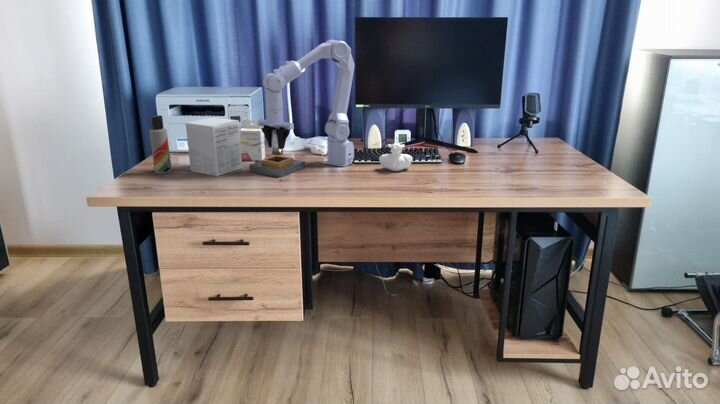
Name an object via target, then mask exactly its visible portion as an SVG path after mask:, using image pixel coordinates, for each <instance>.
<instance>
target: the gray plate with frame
mask: <svg viewBox="0 0 720 404" xmlns="http://www.w3.org/2000/svg"><path fill="white" fill-rule="evenodd" d="M248 165H249V167H248V168H249V172H251V173H254V174H260V175H265V176H271V177H276V178H283V177H286V176H288V175H290V174H293V173H296V172H299V171H301V170H304V169H306V161H305V160H304V161H303V160H299V159H294V158H293V157H288V156H282V155H272V156H270V157H265V158H264V159H263V160H261V161H259V160H256V161H254V163H251V164H248Z"/></svg>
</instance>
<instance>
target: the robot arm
mask: <svg viewBox="0 0 720 404" xmlns="http://www.w3.org/2000/svg"><path fill="white" fill-rule="evenodd" d="M321 59H330V60H331V61H332V62H333V63H334V64H335V65H336V66H337V69H338V73H337V74H338V75H337V80H336V87H335V92H334V97H333V99H334V100H333V103H332V104H333V106H332V110H331V113H330V114H329V116H328V119H327V122H326V123H325V125H324V132H325V133H326V134H327V143H326V144H327V160H326V161H323V162H322V164H324V165H331V166H335V167H336V166H337V167H342V168H345V167H347V166H350V165H351V164H353V163H352V161H353V158H354V159H355V146H354V143H353V142H352V141H349V140H348V137H349V135H350V127H349V123H350V120H349V119H348V114H347V113H348V108H349V102H350V97H351V96H350V95H351V90H352V83H353V78H354V71H355V62H354V58H353V55H352V48H351V47H350V46H349V45H348V44H347V42H346V41H344V40H335V39H328V40H326V41H325V42H323V43H320V44H319V45H318V46H316V47H315V48H313V49H311V51H309V52H308V53H307V54H305V55H304V56H302V57H301V58H300V59H298V60H297V61H295V60H290V61H289V60H286V61H285V62H284V64H283V65H282V66H280V67H279V68H275V69H273V72H271V73H270V72H269V73H267V74H266V75H264V78H263V81H262V86H263V87H264V88H265V108H266V109H265V111H266V119H257V121H258V126H263V128H261V130H262V132H263V133H264V138H265V140H266V141H267V144H268V147H269V148H271V131H272V130H273V129H276V128H278V129H277V130H275V131H276V134H277V137H278V145H279V149H283V150H284V149H285V146H286V142H287V138H288V135H289V133H290V132H291V130H294V129H295V127H294V123H293V122H288V121H284V103H283V101H284V100H283V99H284V98H283V89H284V88H285V86H286V85H287V84H290V83H291V82H292V81H293V80H295V79H297V78H298V77H300V76H301V75H302V71H303V70H304V69H306V68H307V67H309V66H311V65H312V64H314V63H316V62H317V61H320V60H321Z"/></svg>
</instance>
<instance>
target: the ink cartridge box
mask: <svg viewBox="0 0 720 404" xmlns="http://www.w3.org/2000/svg"><path fill="white" fill-rule="evenodd" d="M241 123H242V128H241V129H240V128H239V131H240V145H241V158H242V161H254V162H255V161H256V160H259V161H261V160H263V159H266V151H265V150H266V147H265V135H264V133H263V132H262V130H261V128H264V126H258V119H255V120H254V119H252V120H251V119H249V120H248V119H243V120H241ZM252 123H253V124H252Z"/></svg>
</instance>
